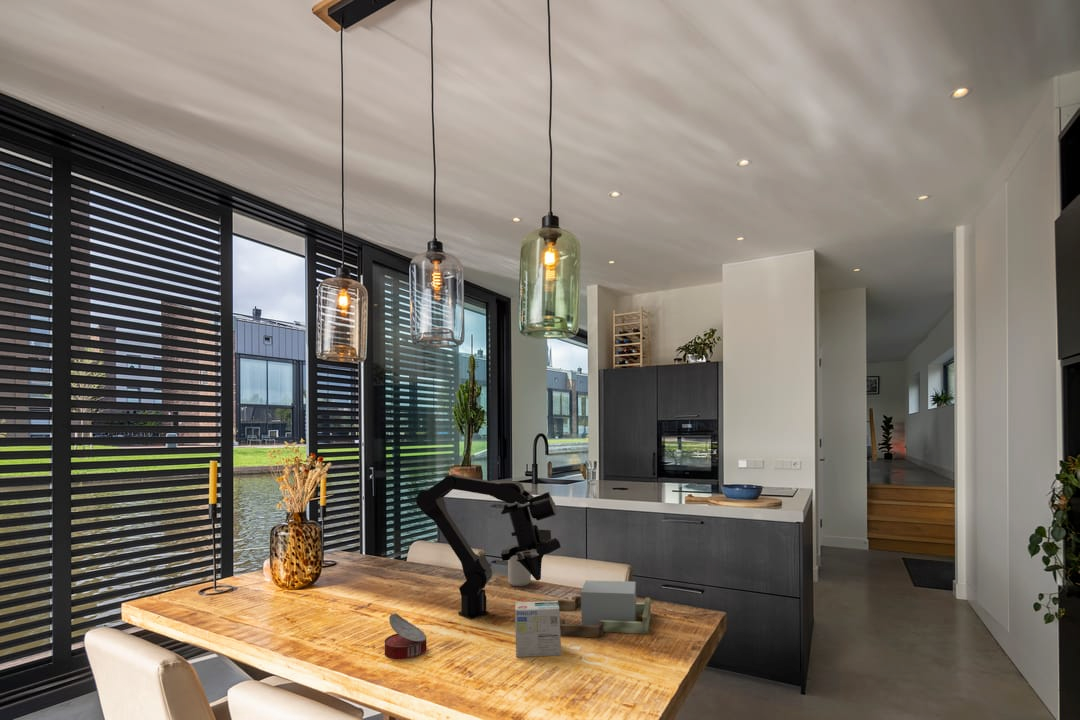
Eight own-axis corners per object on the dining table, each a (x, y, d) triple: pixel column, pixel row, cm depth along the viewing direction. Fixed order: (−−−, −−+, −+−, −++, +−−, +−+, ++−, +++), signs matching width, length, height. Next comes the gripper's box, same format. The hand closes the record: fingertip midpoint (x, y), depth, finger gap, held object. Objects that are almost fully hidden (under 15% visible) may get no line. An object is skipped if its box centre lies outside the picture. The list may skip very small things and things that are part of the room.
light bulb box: (560, 645, 147) (558, 599, 148) (561, 656, 140) (560, 608, 141) (515, 647, 147) (515, 601, 148) (515, 658, 140) (514, 609, 141)
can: (530, 586, 200) (529, 549, 201) (507, 587, 200) (507, 549, 201) (531, 580, 207) (530, 544, 208) (509, 581, 207) (508, 545, 209)
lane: (527, 633, 155) (527, 617, 156) (548, 603, 181) (548, 589, 182) (646, 640, 149) (646, 623, 149) (651, 607, 175) (650, 593, 175)
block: (581, 627, 160) (580, 592, 161) (586, 613, 172) (585, 580, 172) (635, 629, 157) (634, 593, 158) (636, 614, 169) (635, 581, 170)
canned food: (404, 663, 150) (416, 621, 155) (429, 669, 143) (442, 624, 148) (367, 653, 143) (381, 609, 148) (392, 658, 137) (406, 612, 142)
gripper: (564, 512, 173) (580, 566, 171) (519, 521, 184) (533, 572, 182) (539, 523, 164) (556, 581, 162) (493, 532, 176) (508, 586, 174)
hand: (538, 579), depth 170 cm, fingers closed
